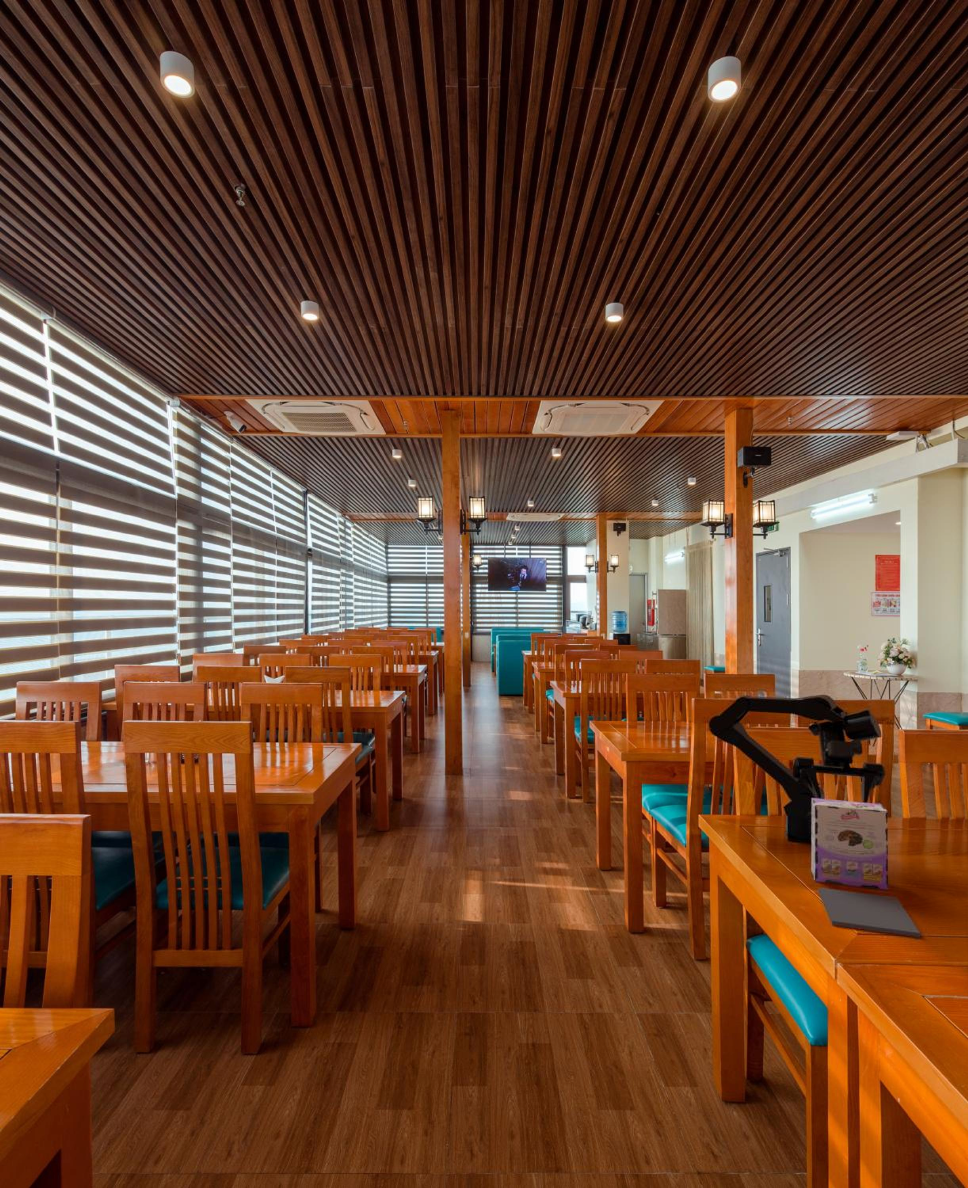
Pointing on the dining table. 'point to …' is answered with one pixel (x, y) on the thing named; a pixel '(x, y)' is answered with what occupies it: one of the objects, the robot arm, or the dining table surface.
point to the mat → (867, 912)
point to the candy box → (849, 843)
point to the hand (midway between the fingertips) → (842, 804)
